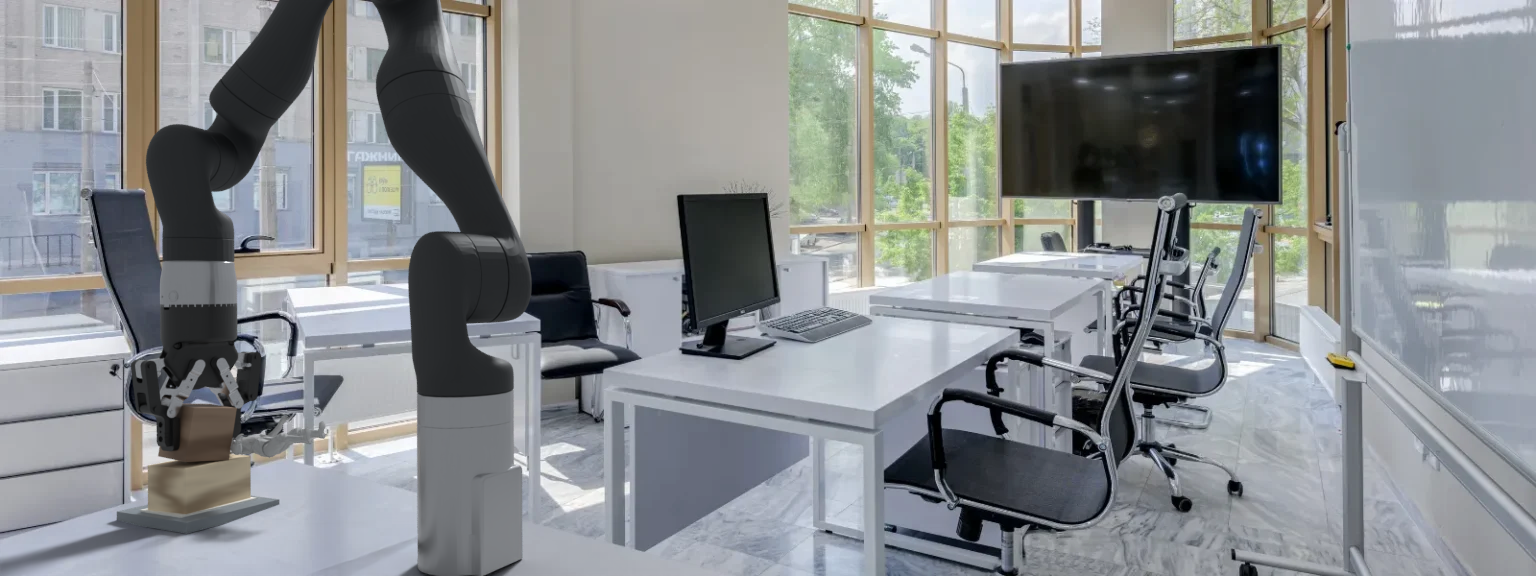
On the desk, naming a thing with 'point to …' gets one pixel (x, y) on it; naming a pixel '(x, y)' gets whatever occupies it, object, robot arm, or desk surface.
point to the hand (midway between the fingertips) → (200, 444)
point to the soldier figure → (275, 440)
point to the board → (195, 515)
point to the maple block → (198, 484)
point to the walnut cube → (203, 433)
